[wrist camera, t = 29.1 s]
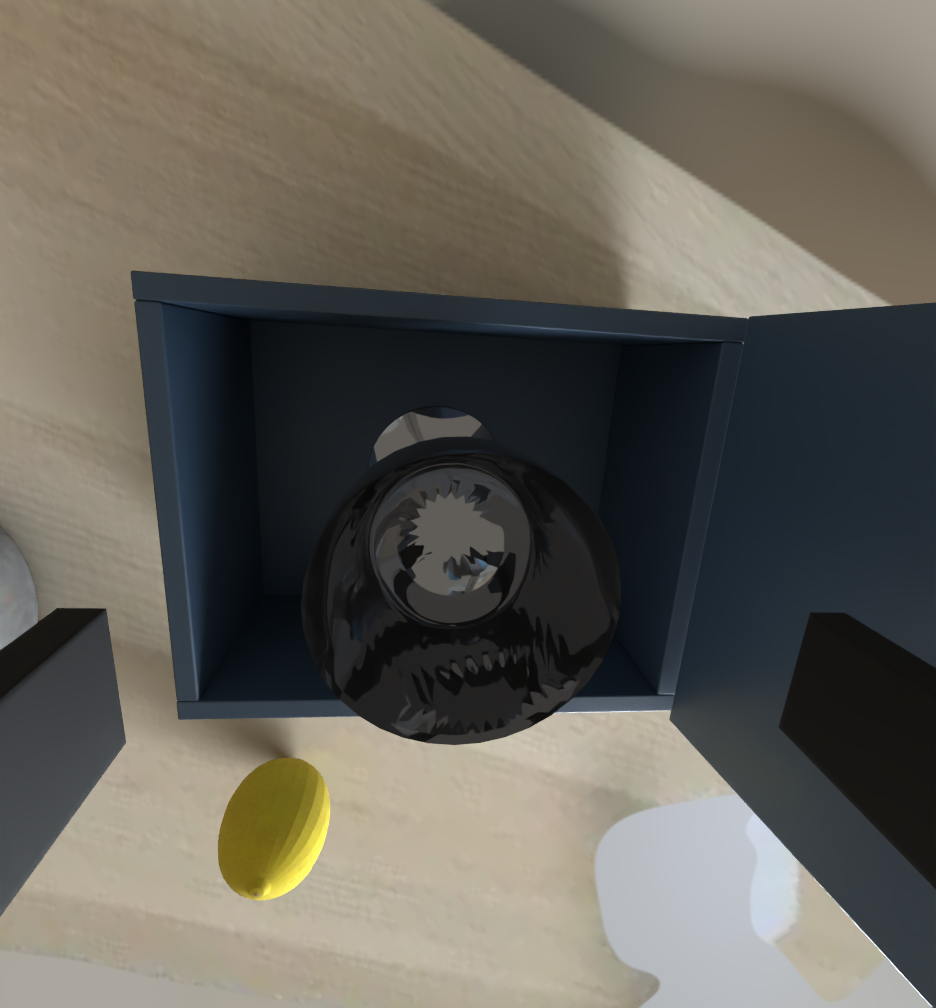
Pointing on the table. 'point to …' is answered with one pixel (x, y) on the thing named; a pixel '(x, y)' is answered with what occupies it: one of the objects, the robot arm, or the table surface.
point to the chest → (359, 422)
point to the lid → (819, 583)
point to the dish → (15, 593)
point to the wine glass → (458, 586)
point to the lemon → (273, 829)
